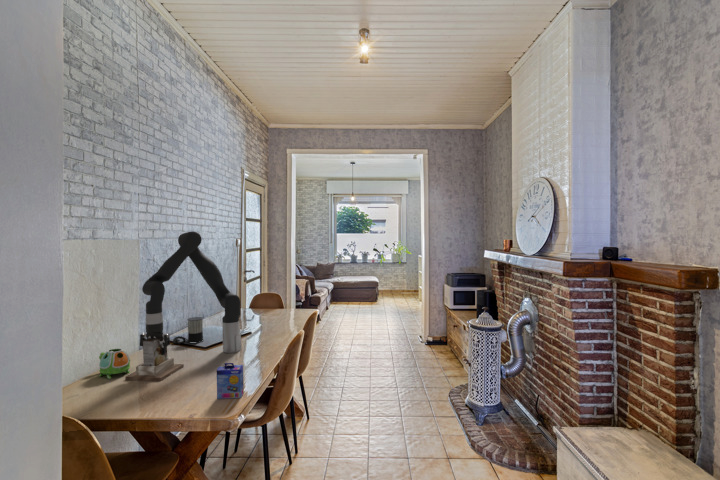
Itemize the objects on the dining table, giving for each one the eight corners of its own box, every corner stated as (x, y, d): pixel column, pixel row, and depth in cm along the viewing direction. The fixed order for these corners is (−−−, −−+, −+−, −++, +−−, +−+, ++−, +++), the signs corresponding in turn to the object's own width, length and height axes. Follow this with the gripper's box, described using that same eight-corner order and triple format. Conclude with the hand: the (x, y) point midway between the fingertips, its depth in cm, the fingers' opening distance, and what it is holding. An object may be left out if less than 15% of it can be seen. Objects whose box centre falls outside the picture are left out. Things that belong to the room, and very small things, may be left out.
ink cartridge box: (216, 399, 152) (215, 364, 152) (220, 393, 158) (219, 360, 157) (241, 398, 153) (240, 363, 153) (244, 392, 159) (243, 359, 158)
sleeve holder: (183, 366, 191) (183, 356, 191) (161, 380, 173) (160, 369, 173) (150, 366, 193) (150, 355, 193) (125, 379, 175) (125, 368, 175)
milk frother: (206, 340, 238) (206, 317, 238) (183, 347, 225) (182, 322, 224) (193, 337, 246) (193, 315, 245) (170, 343, 232) (169, 320, 232)
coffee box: (156, 366, 188) (156, 334, 188) (168, 367, 187) (167, 335, 186) (143, 373, 179) (142, 340, 179) (154, 373, 178) (153, 340, 177)
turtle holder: (115, 366, 193) (114, 343, 193) (136, 372, 185) (135, 348, 184) (88, 374, 182) (88, 350, 182) (109, 381, 174) (108, 355, 174)
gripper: (172, 320, 185) (173, 352, 186) (146, 320, 187) (146, 352, 187) (163, 323, 178) (164, 357, 178) (135, 323, 179) (136, 357, 180)
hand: (155, 354), depth 183 cm, fingers open, 8 cm apart
